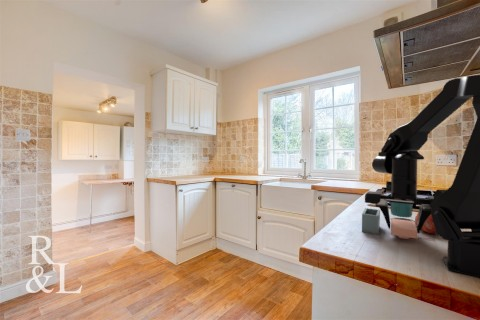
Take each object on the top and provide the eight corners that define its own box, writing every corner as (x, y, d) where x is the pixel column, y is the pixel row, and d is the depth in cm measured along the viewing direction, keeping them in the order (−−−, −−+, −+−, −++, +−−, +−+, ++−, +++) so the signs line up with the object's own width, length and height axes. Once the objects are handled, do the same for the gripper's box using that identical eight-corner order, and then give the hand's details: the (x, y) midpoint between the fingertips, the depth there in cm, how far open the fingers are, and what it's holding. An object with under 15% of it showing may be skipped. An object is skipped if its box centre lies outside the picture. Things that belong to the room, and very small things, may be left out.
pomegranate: (426, 234, 71) (401, 215, 71) (443, 217, 69) (418, 198, 69) (444, 246, 63) (417, 225, 63) (464, 228, 62) (436, 206, 62)
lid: (417, 242, 56) (417, 230, 56) (391, 238, 59) (390, 227, 59) (414, 231, 64) (414, 221, 64) (391, 228, 68) (391, 218, 68)
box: (378, 234, 64) (378, 216, 64) (361, 231, 67) (362, 213, 66) (379, 226, 71) (379, 209, 71) (364, 224, 74) (365, 208, 74)
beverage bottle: (416, 222, 76) (417, 164, 76) (395, 221, 77) (395, 164, 77) (406, 217, 82) (407, 164, 82) (386, 216, 84) (387, 164, 83)
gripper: (443, 175, 63) (442, 229, 63) (368, 172, 74) (367, 218, 74) (452, 178, 54) (450, 241, 54) (364, 174, 64) (364, 227, 65)
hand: (403, 230), depth 62 cm, fingers open, 6 cm apart
